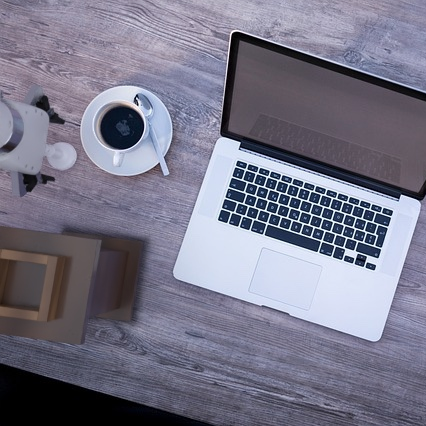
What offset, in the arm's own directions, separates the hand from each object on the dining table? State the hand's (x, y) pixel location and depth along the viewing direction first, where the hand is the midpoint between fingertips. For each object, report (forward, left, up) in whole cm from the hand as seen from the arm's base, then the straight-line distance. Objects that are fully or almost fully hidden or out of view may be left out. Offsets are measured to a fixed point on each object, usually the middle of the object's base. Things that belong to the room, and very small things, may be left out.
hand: (51, 149), depth 96 cm
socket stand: (+8, -20, +17) cm, 27 cm away
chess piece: (-1, 0, -6) cm, 6 cm away
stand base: (+8, -20, -8) cm, 23 cm away
